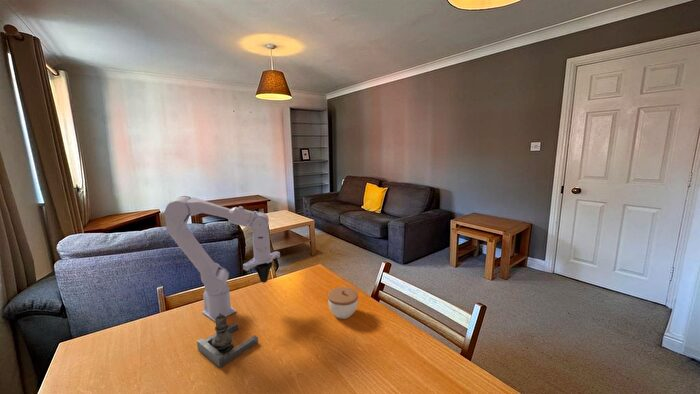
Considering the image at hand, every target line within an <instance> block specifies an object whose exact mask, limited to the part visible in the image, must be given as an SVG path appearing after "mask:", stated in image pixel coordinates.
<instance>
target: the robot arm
mask: <svg viewBox="0 0 700 394" xmlns="http://www.w3.org/2000/svg"><path fill="white" fill-rule="evenodd" d="M199 214H205V215H209V216H210V215H211V216H215V217H220V218H224V219H227V220H228V222H229V223H230V224H233V225H237V226H242V227H245V228H251V230H252V247H253V250H252V251H253V258H251V259H250V260H249V261H247V262H245V263H243V264H242V268H243V270H244V271H245V272H248V271H250V269H252V268H254V269H255V271H256V273H257V274H258V278H259V280H260V282H261V283H263V284H265V283H268V277H269V273H270V271H271V269H272V267H273V261H272V260H275V259H279V258H281V253H280V251H278V250H277V251H273V252H271V243H270V242H271V241H270V233H269V232H270V229H269V226H270V225H269V224H270V223H269V222H270V221H269V220H270V219H269V216H268V214H266V213H265V212H263V211H256V210H254V211H252V210H248V209H246V208H244V206H241V205H240V206H238V207H237V206H235V207H232V208H228V207H225V206H222V205H219V204H216V203H214V202H209V201H207V200H203V199H201V198H197V197H191V196H189V195H181V196H179V197H177V198H176V199H175V200H173V201H171V202H169V203H167V205H166V207H165V210H164V211H163V216H164V218H165V224H166V225H165V227H166V232H167V233H168V235H169V236H170V237H171V238H172V240H173V241H174V242H175V243H176V245H177V246H178V247H179V248H180V250H181V251H182V252H183V253H184V255H186V257H187V258H188V259H189V261H190V262H191V264H192V265H193V266H194V268H195V269H196V270H197V271H198V272H199V274H200V280H201V282H202V284H203V285H204V290H203V291H204V292H203V294H202V297H203V298H202V299H203V308H204V310H202V311H201V313H202V314H203V315H205V316H206V317H207V318H209V319H211V320H212V321H213V322H214V323H216V321H215V319H216V317H217V316H219V314H220V313H221V314H222V315H224V316H225V317H226V318H227V317H229V316H230V315H232V314H234V313H236V312H237V309H235V308H234V307H232V306H231V294H230V286H229V284H228V283H227V282H228V280H229V277H230V273H229V271H228V270H227V269H226V268H224V267H222V266H221V265H220V264H219V263H217V262H214V260H213V259H212V258H211V257H210V255H209V254H208V253H207V251H206V250H205V248H204V247H203V246H202V245H201V244H200V242H199V241H198V240H197V239H196V237H195V236H194V234H193V233H192V232H191V231H190V229H189V228H188V222H189V219H190V217H192V216H197V215H199Z"/></svg>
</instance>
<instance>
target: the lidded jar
mask: <svg viewBox="0 0 700 394" xmlns="http://www.w3.org/2000/svg"><path fill="white" fill-rule="evenodd" d="M327 298H328V300H327V302H328V307H329V310H330V312H331V313H332V314H333V315H334V316H335V317H336V318H338V319H340V320H345V319H348V318H350V317H352V315H353V314H354V313H355V312H356V310H357V306H358V304H359V303H358V300H359V293H358V291H357V290H356V289H354V288H352V287H350V286H349V287H348V286H339V287H335V288H332V289H331V290H330V291H329V292H328V293H327Z"/></svg>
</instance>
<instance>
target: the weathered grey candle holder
mask: <svg viewBox="0 0 700 394" xmlns="http://www.w3.org/2000/svg"><path fill="white" fill-rule="evenodd" d="M215 321H216V322H215ZM215 321H214V322H215V328H214V330H215V334H217V335H216V336H215V337H214V338H213V339H212V344H213V345H212V346H213V347H214V348H215V349H216V350H218V351H219V352H220V353H221V354H223V355H224V354H226V353H227V352H229V351H231V350H232V349H234V345H233V344H232V342H233V339H234V335H233V334H234V333H232V334H231V333H229V332H228V331H227V328H228V326H229V324H228V323H227V316H226V317H225V316H224V315H222V314H221V313H220V314H219V316H217V317H216V319H215Z"/></svg>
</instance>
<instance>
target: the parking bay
mask: <svg viewBox="0 0 700 394" xmlns="http://www.w3.org/2000/svg"><path fill="white" fill-rule="evenodd" d="M227 331H228V332H229V333H231V334H234V333H236V332H237V331H239V324H238V323H237V322H234V323H232V324H230V325H228V328H227ZM216 335H217V334H216V333H214V334H213V335H210V336H208V337H207V338H205V339H204V338H203V337H201V338H199V339H197V340H196V344H197V350H198V351H199V352H200V353H201V354H203V356H205V357H206V358H207V359H208V360H209V361H211V362H212V364H214V365H215V366H217V368H219V369H221V368H224V366H225V365H227V364H229V363H230V362H231V361H233V360H235V359H236V358H238V357H239V356H240V355H242V354H244V353H245V352H247V351H248V350H250V349H251V348H253V347H255V345H257V344H258V343H259V337H258V336H257V335H253V336H251V337H249V338H248V339H246V340H245V341H243V342H242V343H240V344H238V345H237V346H235V347H233V349H232V350H231V351H229V352H227V353H226V354H224V355H223V354H221V353H220V352H219V351H218V350H216V349H215V347H214V345H213V344H212V339H213V338H214V337H215V336H216Z"/></svg>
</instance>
